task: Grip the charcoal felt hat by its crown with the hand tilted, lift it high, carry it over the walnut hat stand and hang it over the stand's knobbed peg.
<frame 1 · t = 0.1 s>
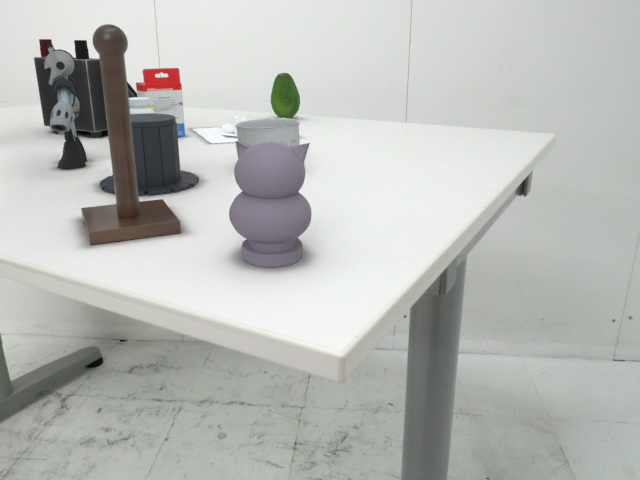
supplement bottle: (143, 147, 115), on the table
robot: (73, 165, 99), on the table
fruit: (285, 119, 154), on the table
teacup: (273, 166, 100), on the table
hat stand: (130, 225, 69), on the table
teacup and saucer: (243, 134, 132), on the table
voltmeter: (99, 131, 133), on the table
ink box: (163, 137, 126), on the table
hat: (150, 182, 88), on the table
cat figurine: (271, 257, 60), on the table
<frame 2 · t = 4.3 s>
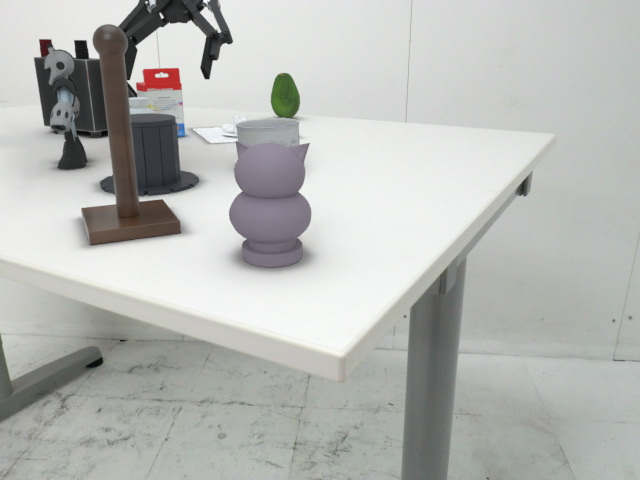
hand: (164, 74, 92), 15 cm above the table, tool tilted 45°, fingers open, 13 cm apart
nothing on the table moved.
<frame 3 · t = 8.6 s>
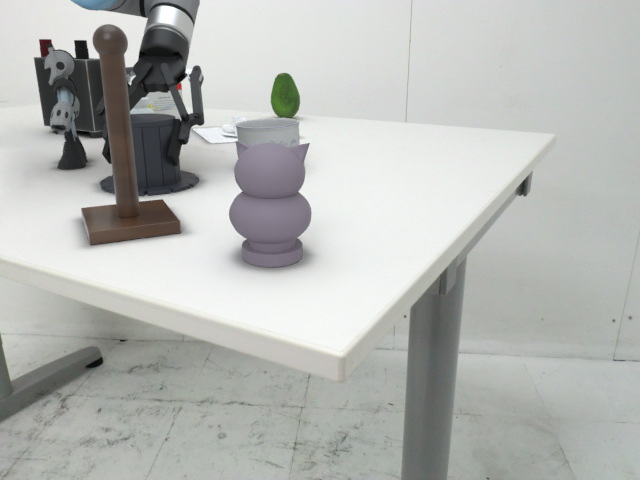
hand: (140, 159, 83), 4 cm above the table, tool tilted 45°, fingers closed on hat, 9 cm apart
hat: (150, 182, 88), on the table, touching gripper
everything else where it was.
when the fingers open (18 cm above the table, at t = 22.4 s): hat stays where it is, resting on hat stand.
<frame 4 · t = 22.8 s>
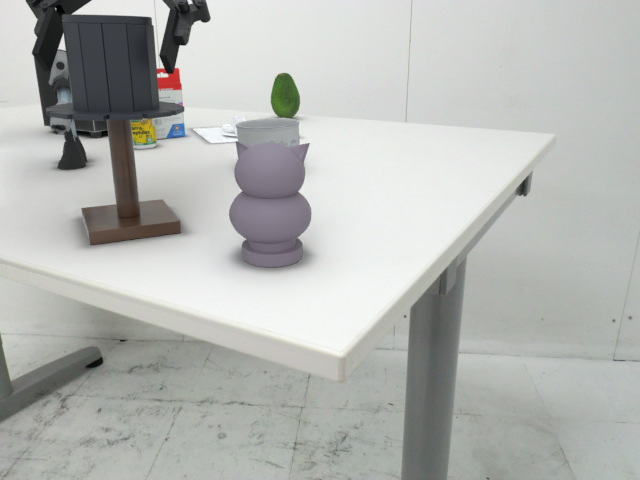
hand: (103, 64, 60), 19 cm above the table, tool tilted 45°, fingers open, 13 cm apart
hat: (117, 111, 64), point 14 cm above the table, touching hat stand
everything else where it was.
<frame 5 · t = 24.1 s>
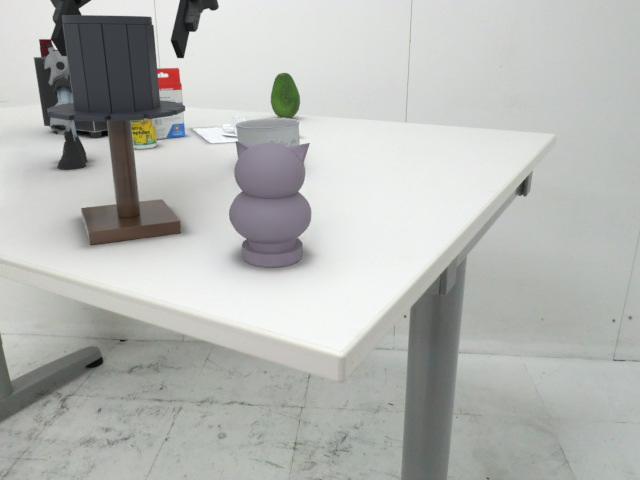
hand: (117, 48, 64), 20 cm above the table, tool tilted 45°, fingers open, 13 cm apart
nothing on the table moved.
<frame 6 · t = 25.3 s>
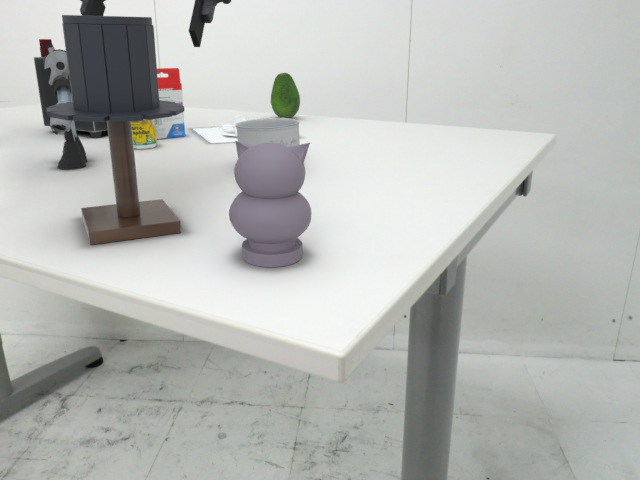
hand: (140, 38, 70), 21 cm above the table, tool tilted 45°, fingers open, 13 cm apart
nothing on the table moved.
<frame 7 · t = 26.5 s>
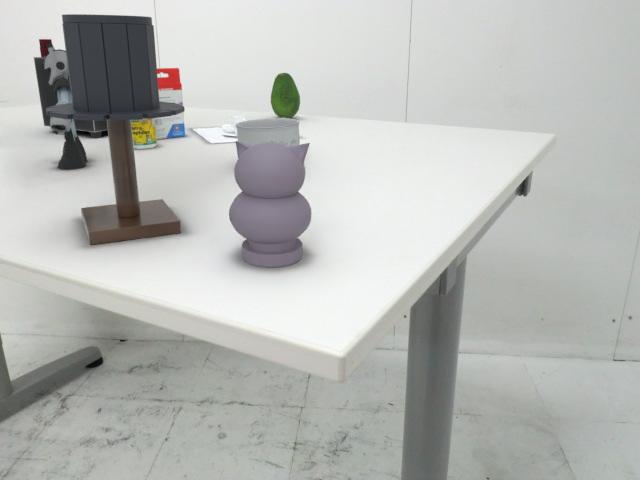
nothing on the table moved.
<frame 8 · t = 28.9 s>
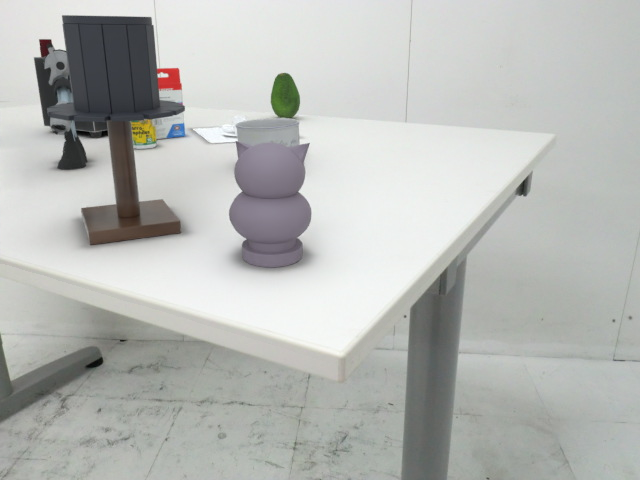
nothing on the table moved.
at the end: hat inside the target area on the hat stand (0.1 cm from its centre), point 13.6 cm above the hat stand's base; hat touching hat stand; the gripper is holding nothing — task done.
